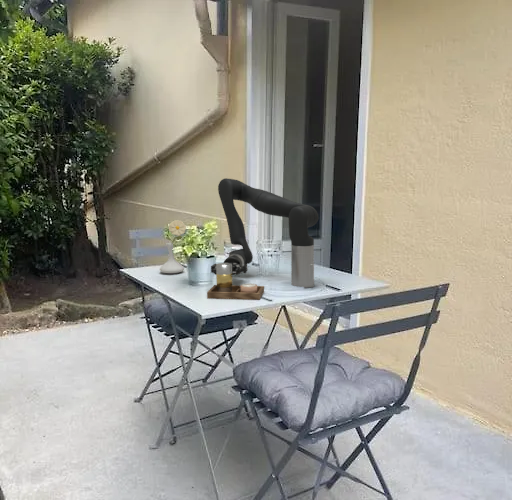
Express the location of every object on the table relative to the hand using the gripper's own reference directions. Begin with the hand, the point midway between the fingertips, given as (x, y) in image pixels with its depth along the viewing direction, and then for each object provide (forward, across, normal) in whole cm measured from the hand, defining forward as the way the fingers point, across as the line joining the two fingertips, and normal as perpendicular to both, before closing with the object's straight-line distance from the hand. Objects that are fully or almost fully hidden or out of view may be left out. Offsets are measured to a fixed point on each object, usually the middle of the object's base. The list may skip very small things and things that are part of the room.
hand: (225, 272), depth 211 cm
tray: (+2, +4, +9) cm, 10 cm away
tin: (+2, 0, +9) cm, 9 cm away
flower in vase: (-39, -33, +9) cm, 52 cm away
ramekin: (+2, +9, +9) cm, 13 cm away
